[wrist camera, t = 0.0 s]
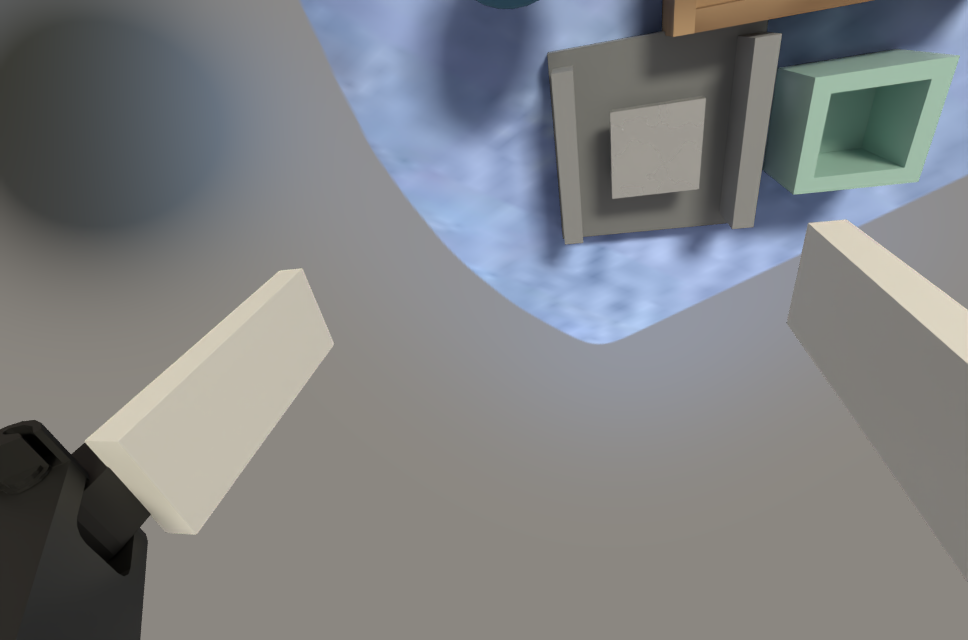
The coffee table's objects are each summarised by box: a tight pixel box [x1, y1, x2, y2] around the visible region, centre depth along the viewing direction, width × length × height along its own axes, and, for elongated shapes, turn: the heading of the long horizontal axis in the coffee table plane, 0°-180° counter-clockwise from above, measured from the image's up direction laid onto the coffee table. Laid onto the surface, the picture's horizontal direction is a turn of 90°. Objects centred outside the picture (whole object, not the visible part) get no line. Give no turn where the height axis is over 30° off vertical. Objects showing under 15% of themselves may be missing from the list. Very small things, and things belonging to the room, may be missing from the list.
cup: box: [763, 49, 960, 195], centre depth 30 cm, size 7×7×6 cm
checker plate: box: [609, 96, 706, 199], centre depth 32 cm, size 6×6×1 cm
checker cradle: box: [547, 20, 782, 244], centre depth 33 cm, size 14×14×5 cm
